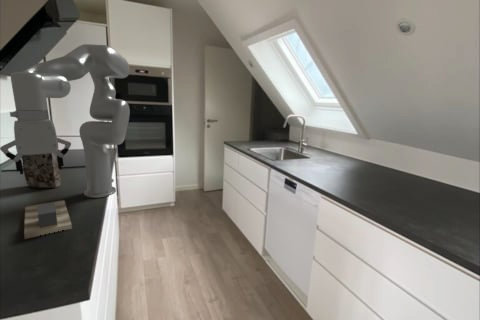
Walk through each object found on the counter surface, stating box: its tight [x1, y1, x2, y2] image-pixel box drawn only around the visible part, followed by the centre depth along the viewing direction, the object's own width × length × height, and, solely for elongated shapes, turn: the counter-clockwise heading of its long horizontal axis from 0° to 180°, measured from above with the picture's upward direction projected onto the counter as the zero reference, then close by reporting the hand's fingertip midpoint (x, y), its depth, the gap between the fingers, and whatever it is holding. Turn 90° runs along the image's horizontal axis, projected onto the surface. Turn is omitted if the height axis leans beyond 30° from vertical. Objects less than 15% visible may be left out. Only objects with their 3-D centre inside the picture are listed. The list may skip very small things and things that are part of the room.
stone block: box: [20, 153, 62, 189], centre depth 119 cm, size 13×7×20 cm, turn 101°
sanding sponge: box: [37, 203, 58, 230], centre depth 85 cm, size 8×4×5 cm, turn 38°
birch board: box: [23, 199, 73, 240], centre depth 92 cm, size 24×12×2 cm, turn 38°
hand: (41, 170), depth 83 cm, fingers open, 9 cm apart
